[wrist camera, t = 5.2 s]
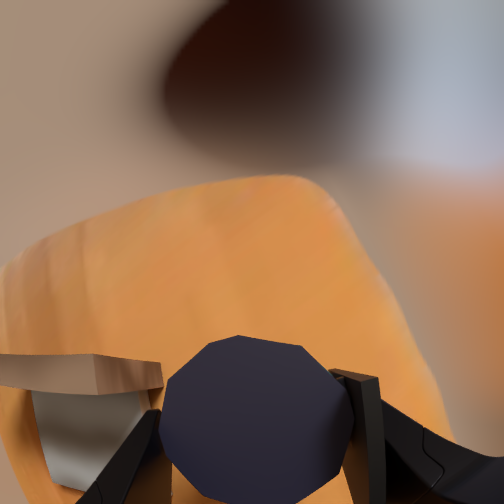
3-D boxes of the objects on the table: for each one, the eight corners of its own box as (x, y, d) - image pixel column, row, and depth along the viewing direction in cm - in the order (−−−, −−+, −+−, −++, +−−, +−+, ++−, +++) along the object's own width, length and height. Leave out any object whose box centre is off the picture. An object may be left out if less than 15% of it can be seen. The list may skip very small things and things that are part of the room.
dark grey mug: (367, 361, 14) (465, 353, 5) (343, 452, 12) (394, 550, 3) (241, 338, 16) (157, 299, 6) (218, 426, 14) (116, 490, 4)
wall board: (189, 494, 15) (150, 556, 6) (53, 475, 14) (-12, 493, 5) (160, 362, 20) (92, 353, 11) (32, 366, 19) (-42, 350, 10)
